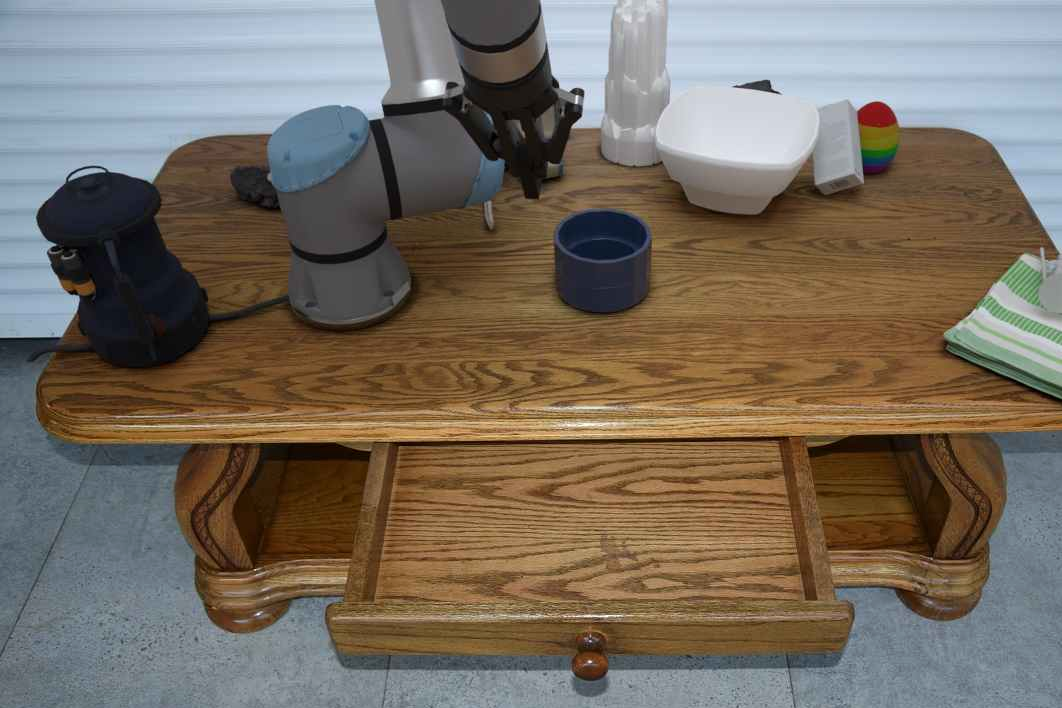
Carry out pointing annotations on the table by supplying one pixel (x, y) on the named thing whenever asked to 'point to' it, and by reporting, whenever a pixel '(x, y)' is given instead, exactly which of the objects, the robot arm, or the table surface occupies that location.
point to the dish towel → (1014, 330)
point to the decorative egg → (877, 136)
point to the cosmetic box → (838, 149)
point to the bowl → (735, 145)
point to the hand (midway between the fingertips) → (533, 187)
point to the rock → (255, 185)
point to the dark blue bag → (122, 269)
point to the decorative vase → (635, 82)
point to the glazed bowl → (602, 259)
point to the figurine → (1051, 284)
